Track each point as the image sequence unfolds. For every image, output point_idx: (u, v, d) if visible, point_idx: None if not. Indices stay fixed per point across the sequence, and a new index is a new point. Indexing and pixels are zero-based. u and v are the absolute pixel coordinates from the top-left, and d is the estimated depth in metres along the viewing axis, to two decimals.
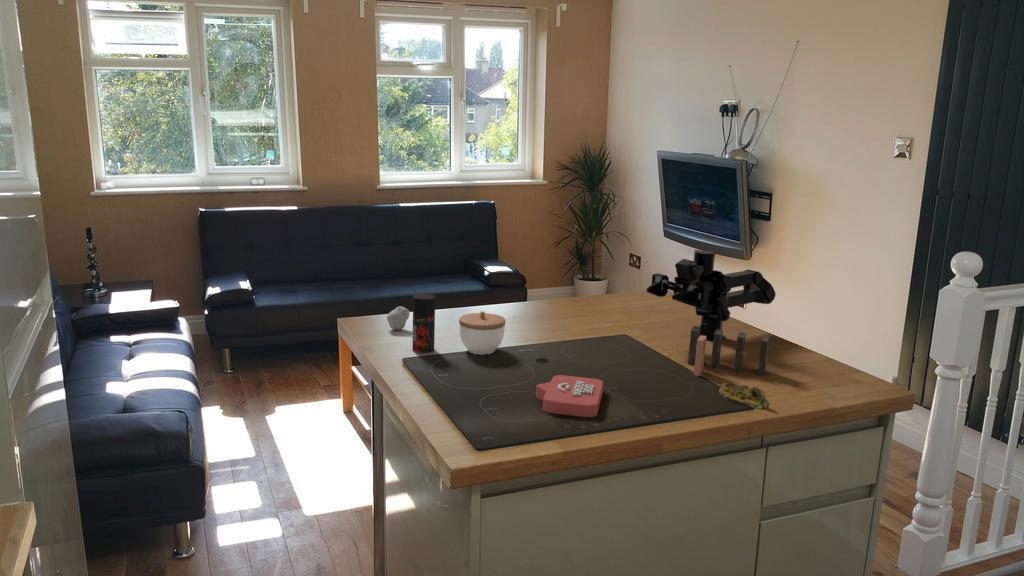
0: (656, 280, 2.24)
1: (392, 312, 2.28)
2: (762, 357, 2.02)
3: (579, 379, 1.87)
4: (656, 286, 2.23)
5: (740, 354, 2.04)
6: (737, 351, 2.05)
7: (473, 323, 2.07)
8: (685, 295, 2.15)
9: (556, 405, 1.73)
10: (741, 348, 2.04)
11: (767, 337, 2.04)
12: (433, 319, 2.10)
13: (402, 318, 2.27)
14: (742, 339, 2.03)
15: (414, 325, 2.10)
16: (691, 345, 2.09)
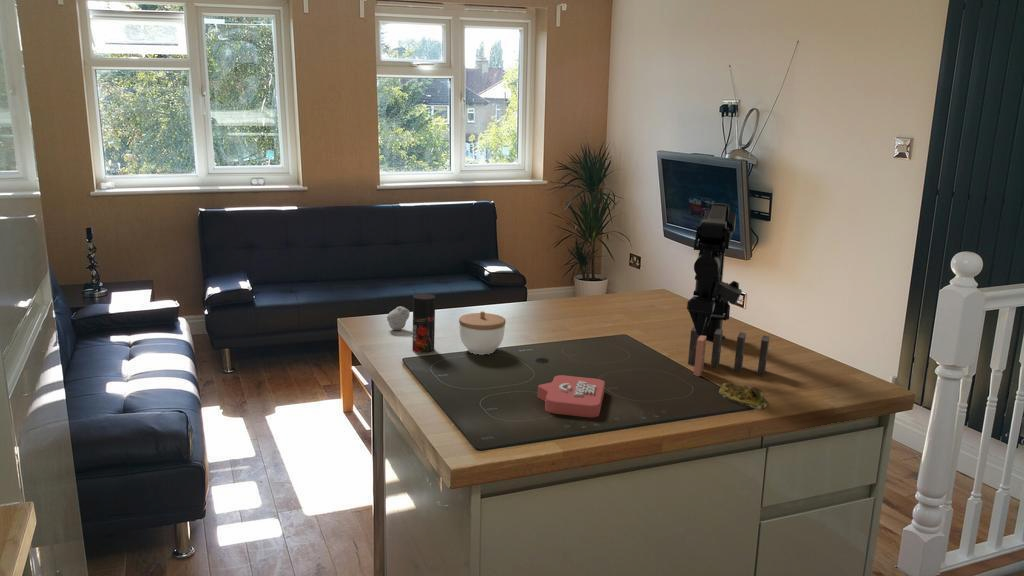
0: (708, 316, 1.93)
1: (392, 312, 2.28)
2: (762, 357, 2.02)
3: (580, 379, 1.87)
4: None
5: (740, 354, 2.04)
6: (737, 351, 2.05)
7: (473, 323, 2.07)
8: None
9: (558, 405, 1.72)
10: (741, 348, 2.04)
11: (767, 337, 2.04)
12: (433, 319, 2.10)
13: (402, 318, 2.27)
14: (742, 339, 2.03)
15: (414, 325, 2.10)
16: (691, 345, 2.09)
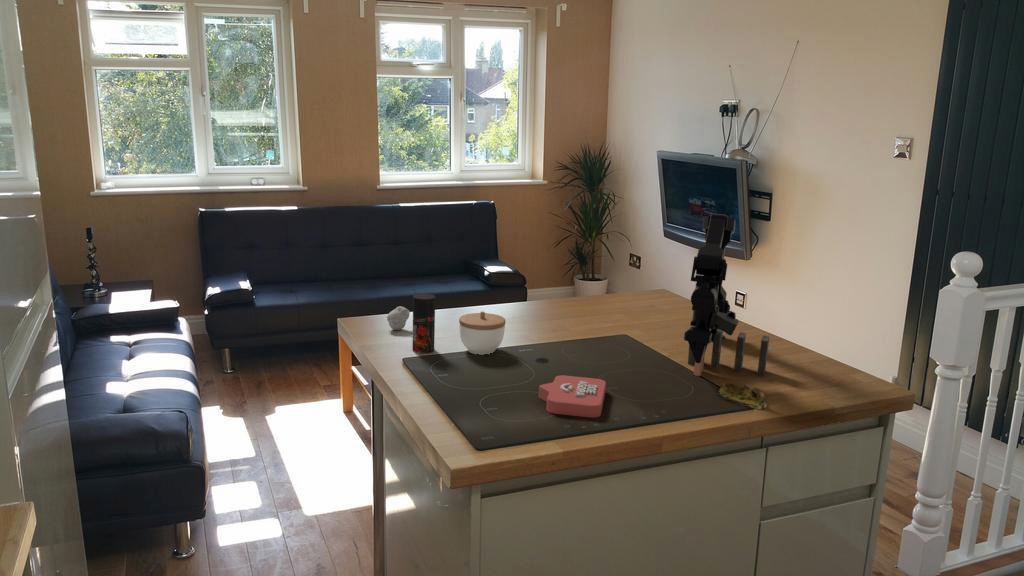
0: (706, 344, 1.97)
1: (392, 312, 2.28)
2: (762, 357, 2.02)
3: (581, 379, 1.87)
4: None
5: (740, 354, 2.04)
6: (737, 351, 2.05)
7: (473, 323, 2.07)
8: None
9: (559, 406, 1.72)
10: (741, 348, 2.04)
11: (767, 337, 2.04)
12: (433, 319, 2.10)
13: (402, 318, 2.27)
14: (742, 339, 2.03)
15: (414, 325, 2.10)
16: None
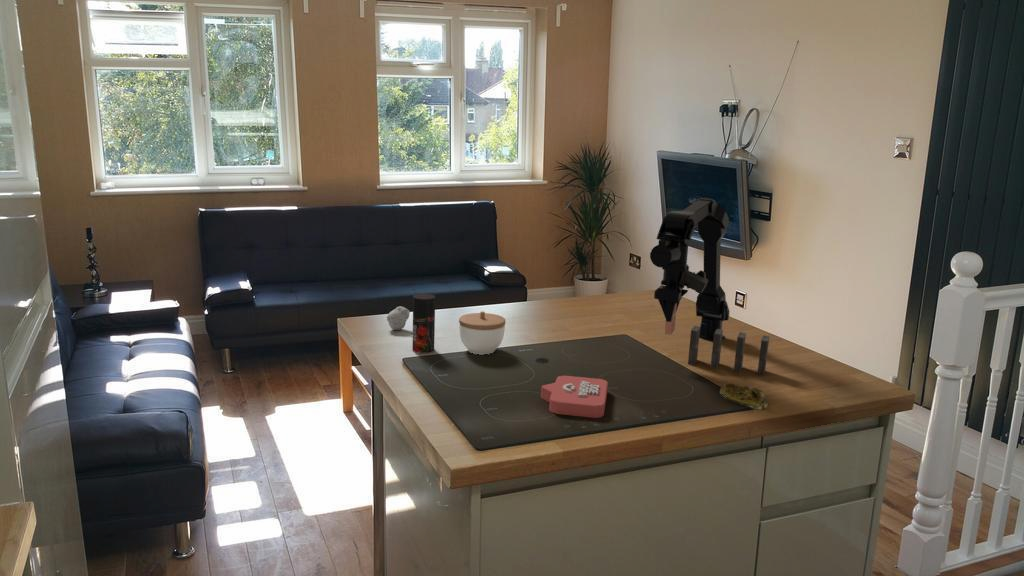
0: None
1: (392, 312, 2.28)
2: (762, 357, 2.02)
3: (583, 379, 1.87)
4: None
5: (740, 354, 2.04)
6: (737, 351, 2.05)
7: (473, 323, 2.07)
8: None
9: (563, 406, 1.72)
10: (741, 348, 2.04)
11: (767, 337, 2.04)
12: (433, 319, 2.10)
13: (402, 318, 2.27)
14: (742, 339, 2.03)
15: (414, 325, 2.10)
16: (691, 345, 2.09)
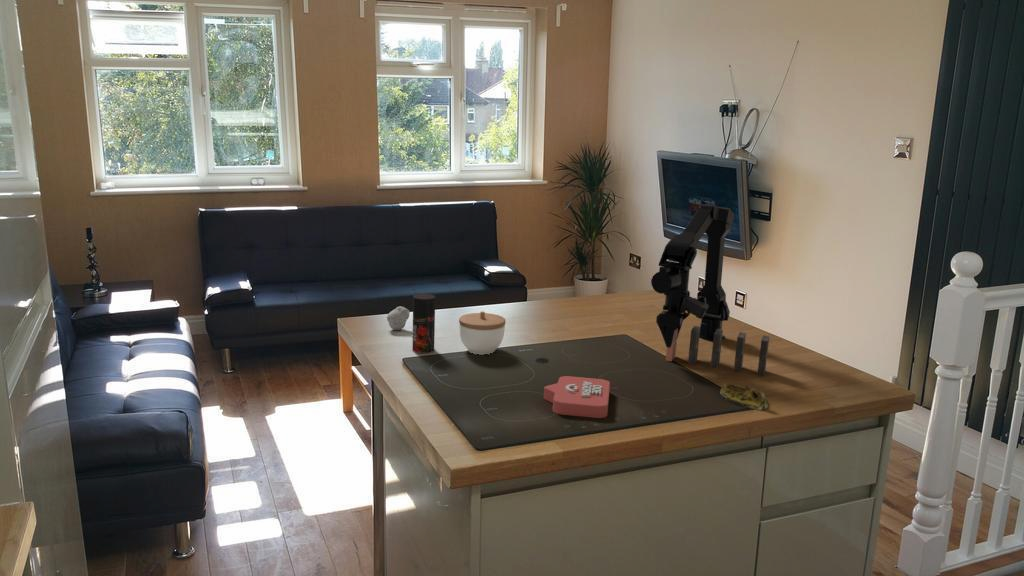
0: None
1: (392, 312, 2.28)
2: (762, 357, 2.02)
3: (585, 380, 1.87)
4: None
5: (740, 354, 2.04)
6: (737, 351, 2.05)
7: (473, 323, 2.07)
8: None
9: (566, 407, 1.72)
10: (741, 348, 2.04)
11: (767, 337, 2.04)
12: (433, 319, 2.10)
13: (402, 318, 2.27)
14: (742, 339, 2.03)
15: (414, 325, 2.10)
16: (691, 345, 2.09)
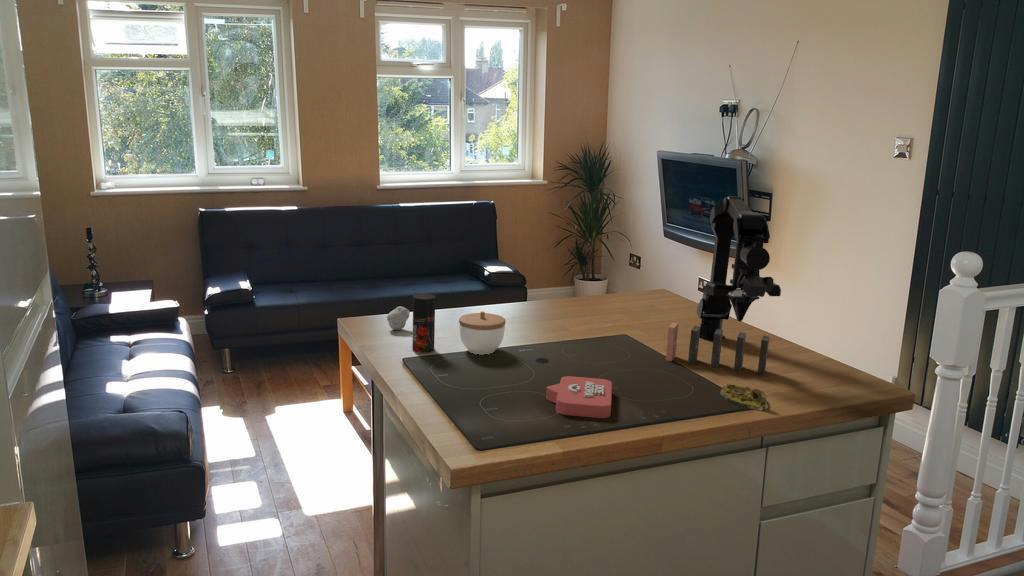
0: (738, 301, 2.02)
1: (392, 312, 2.28)
2: (762, 357, 2.02)
3: (587, 380, 1.87)
4: None
5: (740, 354, 2.04)
6: (737, 351, 2.05)
7: (473, 323, 2.07)
8: None
9: (570, 407, 1.72)
10: (741, 348, 2.04)
11: (767, 337, 2.04)
12: (433, 319, 2.10)
13: (402, 318, 2.27)
14: (742, 339, 2.03)
15: (414, 325, 2.10)
16: (691, 345, 2.09)
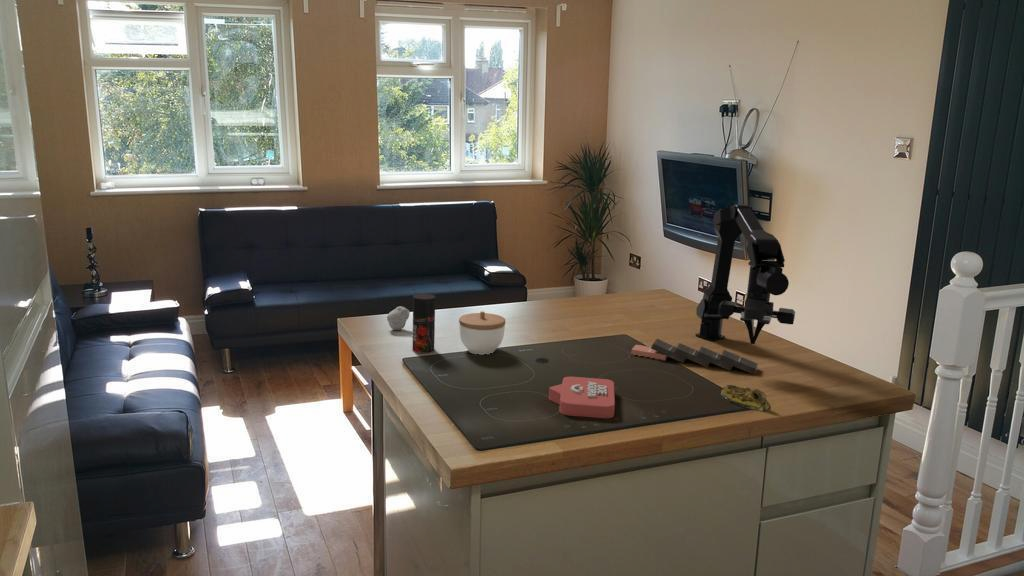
0: (747, 323, 2.03)
1: (392, 312, 2.28)
2: (736, 364, 2.05)
3: (589, 380, 1.87)
4: (752, 329, 2.04)
5: (714, 359, 2.07)
6: (711, 361, 2.08)
7: (473, 323, 2.07)
8: None
9: (573, 407, 1.72)
10: (708, 356, 2.08)
11: (722, 352, 2.10)
12: (433, 319, 2.10)
13: (402, 318, 2.27)
14: (700, 353, 2.08)
15: (414, 325, 2.10)
16: (665, 353, 2.12)
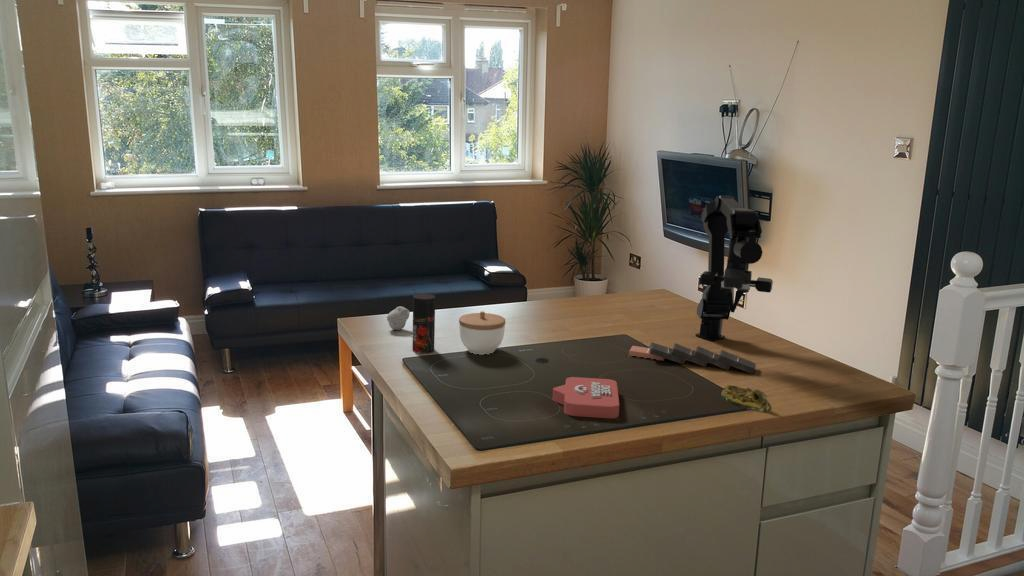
0: (727, 292, 2.12)
1: (392, 312, 2.28)
2: (735, 364, 2.05)
3: (592, 380, 1.87)
4: (732, 297, 2.13)
5: (712, 359, 2.07)
6: (708, 360, 2.08)
7: (473, 323, 2.07)
8: None
9: (578, 408, 1.72)
10: (706, 356, 2.08)
11: (720, 352, 2.10)
12: (433, 319, 2.10)
13: (402, 318, 2.27)
14: (697, 352, 2.08)
15: (414, 325, 2.10)
16: (665, 356, 2.10)
